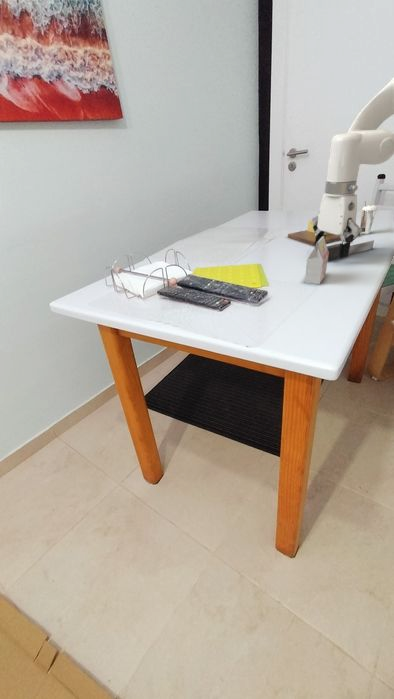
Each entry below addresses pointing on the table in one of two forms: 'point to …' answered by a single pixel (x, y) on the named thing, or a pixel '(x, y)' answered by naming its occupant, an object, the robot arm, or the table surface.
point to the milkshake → (367, 218)
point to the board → (313, 237)
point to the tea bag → (317, 263)
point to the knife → (356, 248)
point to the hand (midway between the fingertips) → (330, 252)
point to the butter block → (310, 226)
